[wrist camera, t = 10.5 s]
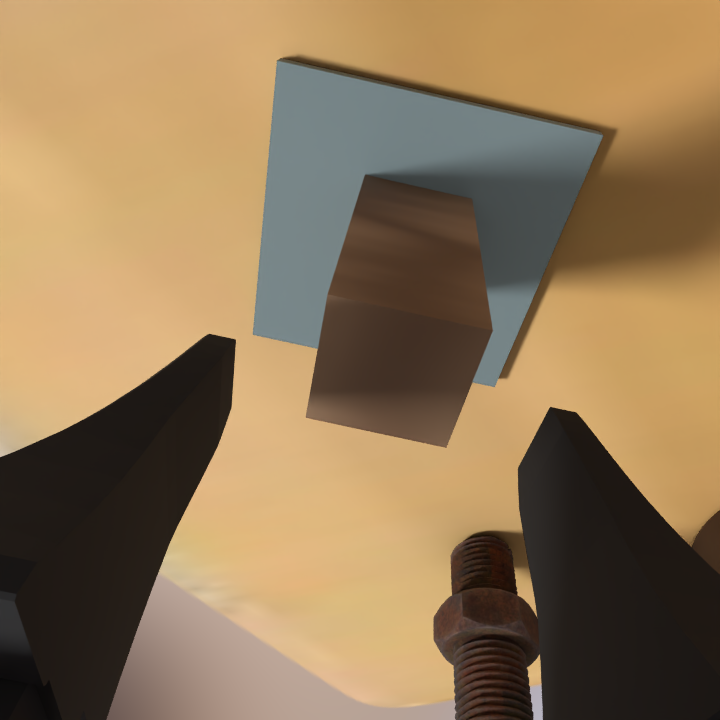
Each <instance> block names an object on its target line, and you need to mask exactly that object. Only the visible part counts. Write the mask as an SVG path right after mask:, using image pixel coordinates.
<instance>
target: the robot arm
mask: <svg viewBox="0 0 720 720" xmlns="http://www.w3.org/2000/svg"><path fill="white" fill-rule="evenodd" d="M235 346H236V340H235V339H231V338H226V337H221V336H217V335H212V334H208V335H206V336H205V337H203V338H202V339H201V340H199V341H198V342H197V343H196V344H194V345H193V346H192V347H190V348H189V349H188V350H187V351H185V352H184V353H183V354H182V355H180V356H179V357H178V358H176V359H175V360H174V361H172V362H171V363H170V364H168V365H167V366H166V367H164V368H163V369H162V370H160V371H159V372H157V373H156V374H155V375H153V376H152V377H151V378H149V379H148V380H146V381H145V382H144V383H142V384H141V385H139V386H138V387H136V388H135V389H133V390H131V391H130V392H128V393H127V394H125V395H124V396H122V397H121V398H119V399H117V400H116V401H114V402H113V403H111V404H110V405H108V406H106V407H105V408H103V409H101V410H100V411H98V412H96V413H94V414H93V415H91V416H89V417H87V418H85V419H84V420H82V421H80V422H78V423H76V424H74V425H72V426H70V427H68V428H66V429H64V430H62V431H60V432H58V433H56V434H54V435H51V436H49V437H47V438H45V439H42V440H40V441H38V442H36V443H33V444H31V445H29V446H27V447H24V448H22V449H20V450H17V451H15V452H13V453H10V454H8V455H5V456H2V457H0V720H106V719H107V716H108V713H109V710H110V707H111V704H112V701H113V698H114V694H115V692H116V689H117V686H118V683H119V680H120V677H121V674H122V671H123V668H124V666H125V663H126V660H127V657H128V654H129V651H130V648H131V645H132V643H133V640H134V637H135V634H136V631H137V628H138V626H139V623H140V620H141V617H142V615H143V612H144V609H145V607H146V604H147V601H148V598H149V596H150V593H151V590H152V587H153V585H154V582H155V580H156V577H157V575H158V572H159V569H160V567H161V564H162V562H163V559H164V556H165V554H166V551H167V549H168V546H169V544H170V541H171V539H172V537H173V535H174V533H175V530H176V528H177V526H178V524H179V522H180V520H181V518H182V516H183V514H184V512H185V510H186V508H187V506H188V504H189V502H190V500H191V498H192V496H193V494H194V492H195V490H196V489H197V487H198V485H199V483H200V481H201V479H202V477H203V475H204V473H205V471H206V469H207V467H208V465H209V463H210V461H211V459H212V457H213V455H214V453H215V451H216V449H217V447H218V444H219V441H220V439H221V436H222V433H223V430H224V428H225V425H226V422H227V419H228V416H229V413H230V410H231V406H232V391H233V376H234V361H235ZM518 493H519V510H520V516H521V523H522V529H523V534H524V540H525V546H526V552H527V557H528V563H529V569H530V574H531V580H532V585H533V591H534V597H535V603H536V611H537V618H538V631H539V645H540V660H541V681H542V703H543V720H720V574H719V573H718V572H717V571H715V570H714V569H713V568H712V567H711V566H710V565H709V564H708V563H707V562H706V561H705V560H704V559H703V558H702V557H701V556H700V555H699V554H698V553H697V552H696V551H695V550H694V549H693V548H692V547H691V546H689V545H688V544H687V543H686V542H685V541H684V540H683V539H682V538H681V537H680V535H679V534H678V533H677V532H676V531H675V530H674V529H673V528H672V527H671V526H670V525H669V524H668V523H667V522H666V521H665V519H664V518H663V517H662V516H661V515H660V514H659V513H658V512H657V511H656V509H655V508H654V507H653V506H652V505H651V504H650V503H649V502H648V500H647V499H646V498H645V497H644V496H643V495H642V493H641V492H640V491H639V490H638V489H637V487H636V486H635V485H634V484H633V483H632V481H631V480H630V479H629V478H628V476H627V475H626V474H625V473H624V472H623V470H622V469H621V468H620V467H619V465H618V464H617V463H616V461H615V460H614V459H613V458H612V456H611V455H610V454H609V453H608V451H607V450H606V449H605V447H604V446H603V445H602V444H601V442H600V441H599V440H598V438H597V437H596V436H595V435H594V433H593V432H592V431H591V430H590V428H589V427H588V426H587V425H586V423H585V422H584V421H583V420H582V418H581V417H580V416H579V415H578V414H577V413H576V412H571V411H566V410H562V409H557V408H552V407H550V408H549V410H548V412H547V414H546V416H545V418H544V420H543V422H542V424H541V425H540V427H539V429H538V431H537V433H536V435H535V437H534V439H533V441H532V443H531V444H530V446H529V448H528V450H527V452H526V454H525V456H524V458H523V460H522V462H521V463H520V465H519V467H518Z"/></svg>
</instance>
